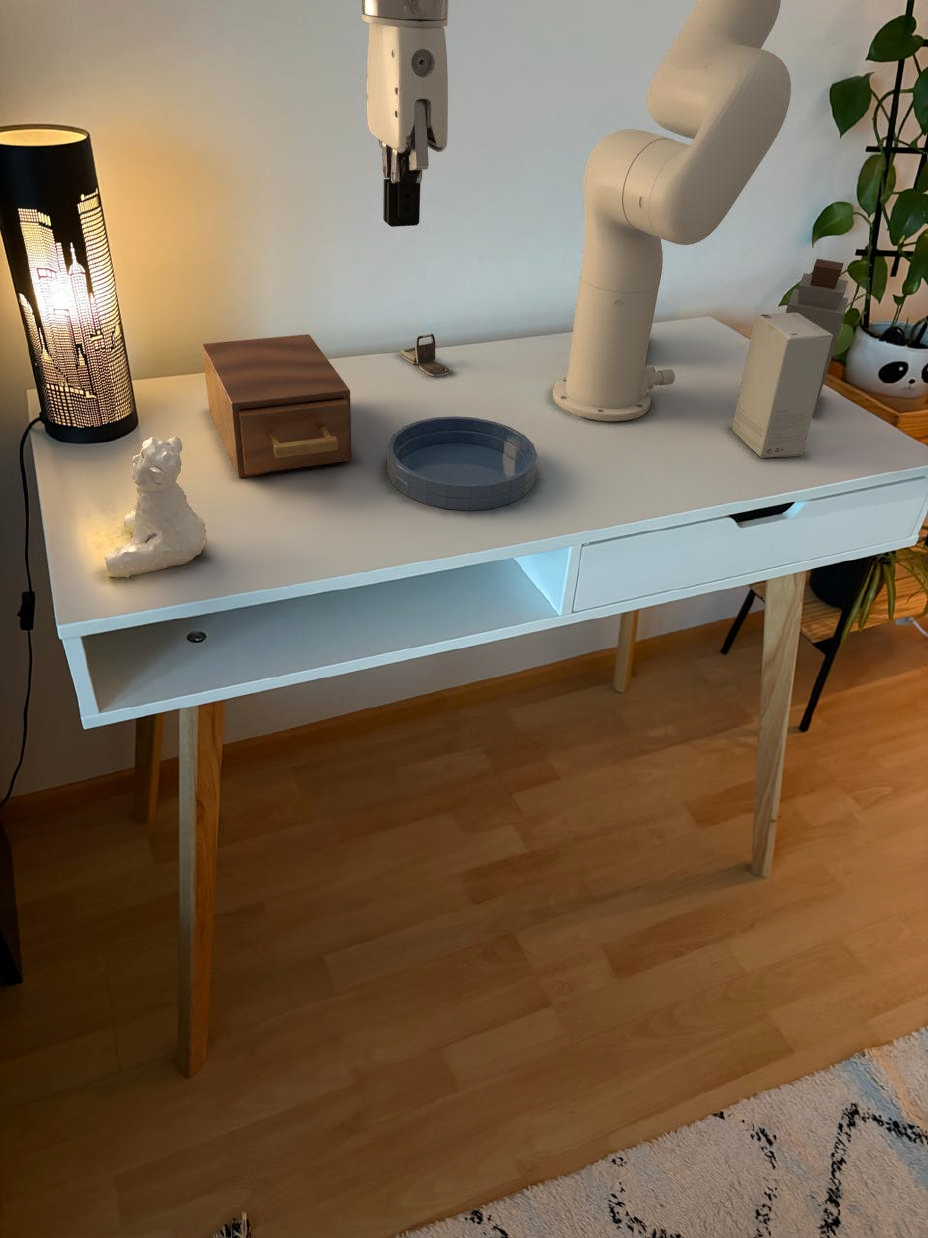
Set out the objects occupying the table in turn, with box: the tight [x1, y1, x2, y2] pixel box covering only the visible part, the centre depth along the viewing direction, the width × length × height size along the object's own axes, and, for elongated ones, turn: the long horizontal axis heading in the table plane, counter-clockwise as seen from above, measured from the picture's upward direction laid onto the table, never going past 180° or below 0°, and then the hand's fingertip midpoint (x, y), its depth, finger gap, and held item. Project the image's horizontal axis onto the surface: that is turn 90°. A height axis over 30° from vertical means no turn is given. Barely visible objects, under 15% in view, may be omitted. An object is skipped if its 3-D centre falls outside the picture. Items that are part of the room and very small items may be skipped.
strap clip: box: [400, 333, 450, 377], centre depth 128 cm, size 8×3×4 cm, turn 35°
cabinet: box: [201, 334, 352, 478], centre depth 108 cm, size 17×13×9 cm
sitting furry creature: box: [104, 436, 208, 579], centre depth 87 cm, size 10×9×12 cm
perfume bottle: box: [785, 258, 850, 418], centre depth 121 cm, size 7×7×18 cm
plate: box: [386, 416, 538, 511], centre depth 105 cm, size 16×16×3 cm
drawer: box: [238, 399, 350, 475], centre depth 105 cm, size 20×11×7 cm, turn 23°
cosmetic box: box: [731, 312, 833, 459], centre depth 112 cm, size 8×6×15 cm
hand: (401, 223), depth 94 cm, fingers closed
